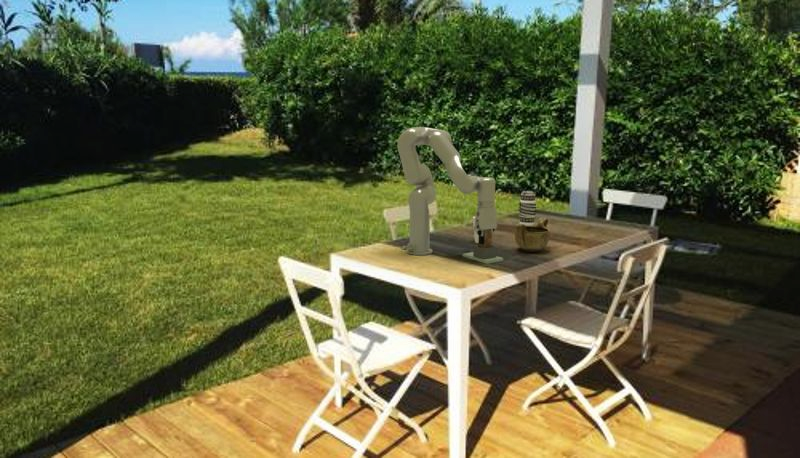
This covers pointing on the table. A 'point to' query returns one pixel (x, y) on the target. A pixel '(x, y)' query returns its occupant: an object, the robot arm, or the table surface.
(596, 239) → the table surface
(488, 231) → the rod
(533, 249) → the brown round bowl
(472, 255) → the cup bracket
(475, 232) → the foam cup
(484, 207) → the robot arm
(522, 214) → the decorative candle
